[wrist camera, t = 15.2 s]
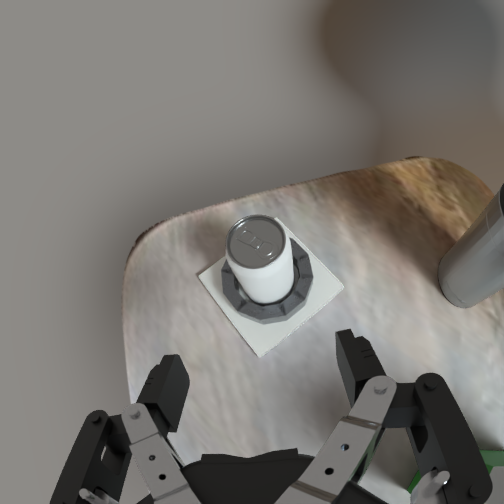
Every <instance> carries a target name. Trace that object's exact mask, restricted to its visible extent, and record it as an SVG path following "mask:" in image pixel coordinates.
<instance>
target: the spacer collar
mask: <svg viewBox="0 0 504 504" xmlns="http://www.w3.org/2000/svg"><path fill="white" fill-rule="evenodd" d="M289 239H290V242H291V249H292V259H293V265H294V266H295V267H296V268H297V269H298V274H299V281H298V284H297V287H296V289H295V292H294V293H293V294H292V295H290V296H289V297H288V298H287V299H285V300H284V301H283V302H282V303H280V304H276V305H270V306H264V307H261V306H258V305H255V304H252V303H250V302H247V301H245V300H244V299H243V298H242V296H241V295H240V293H239V284H238V279H237V278H236V276H235V274H234V273H233V271H232V269H231V268H230V266H229V264H228V261H227V259H226V261H225V263H224V265H223V267H222V269H221V277H222V288H223V294H224V295H225V296H226V297H227V299H228V300H229V301H230V303H231V304H232V305H233V307H234V308H235V309H236V310H237V312H238V313H239V314H240V315H241V316H242V317H244V318H247V319H250V320H252V321H255V322H258V323H260V324H263V325H265V324H271V323H277V322H282V321H287V320H288V319H290V318H291V317H292V316H293V315H294V314H296V313H297V312H298V311H299V310H300V309H302V308H303V307H304V306H305V304H306V302H307V299H308V296H309V293H310V290H311V288H312V285H313V272H312V268H311V263H310V259H309V254H308V253H307V252H306V251H305V250H304V249H303V248H302V247H301V246H300V245H299V244H298V243H297V242H296V241H295V240H294V239H293V238H289Z"/></svg>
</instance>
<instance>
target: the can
mask: <svg viewBox="0 0 504 504" xmlns="http://www.w3.org/2000/svg"><path fill="white" fill-rule="evenodd" d="M226 258H227V261H228V264H229V266H230V268H231V269H232V271H233V273H234V274H235V276H236V278H237V279H238V281H239V282H240V284H241V286H242V287H243V289H244V291H245V292H246V294H247V295H248V296H249V298H250V299H251V300H252V301H254V302H255V303H257V304H259V305H262V306H270V305H276V304H280V303H282V302H283V301H284V300H285V299H287V298H288V297H289V295H290V294H291V292H292V289H293V286H294V272H293V259H292V249H291V242H290V239H289V236H288V234H287V233H286V231H285V230H284V229H283V227H282V226H281V225H280V223H279V222H277V221H276V220H275V219H273V218H271V217H269V216H265V215H251V216H247V217H245V218H242V219H241V220H239V221H238V222H236V223H235V224H234V225H233V226H232V227H231V229H230V230H229V232H228V234H227V237H226Z"/></svg>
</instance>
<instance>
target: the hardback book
mask: <svg viewBox="0 0 504 504" xmlns="http://www.w3.org/2000/svg"><path fill="white" fill-rule="evenodd" d="M480 453H481V455H482V457H483V460H484V462H485V465H486V467H487V470H488V472H489V475H490V477H491V480H492V483H493V490H492V493H491V495H490V497H489V499H488V500H487V501H486V502H485V503H484V504H504V451H493V450H480ZM420 480H421V475H420V472H419V470H418V471H417V473H416V475H415V477H414V479H413V481H412V482H411V484H410V486H409V488H408V489H407V491H408V492H409V493H410V494H411V493H412V491H413V489H414V488H415V486H416V485H417V484H418V483H419V481H420Z"/></svg>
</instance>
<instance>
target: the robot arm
mask: <svg viewBox="0 0 504 504" xmlns="http://www.w3.org/2000/svg"><path fill="white" fill-rule="evenodd" d="M438 278H439V283H440V287H441V289H442V291H443V293H444V295H445V296H446V298H447V299H448V300H449V301H450V302H451V303H452V304H454V305H455V306H457V307H460V308H469V307H472V306H474V305H476V304H478V303H479V302H481V301H483V300H485V299H487V298H488V297H490V296H492V295H493V294H495V293H497V292H498V291H500V290H501V289H503V288H504V184H503V185H502V187H501V188H500V190H499V191H498V192H497V194H496V195H495V196H494V198H493V199H492V200H491V202H490V203H489V204H488V206H487V207H486V208H485V209H484V211H483V212H482V213H481V214H480V216H479V217H478V218H477V219H476V221H475V222H474V223H473V224H472V225H471V226H470V228H469V229H468V230H467V231H466V232H465V233H464V235H463V236H462V237H461V238H460V239H459V240H458V241H457V242H456V243H455V244H454V246H453V247H452V248H451V249H450V250H449V251H448V252H447V253H446V254H445V255H444V257H443V258H442V259H441V262H440V264H439V269H438ZM335 336H336V356H337V363H338V367H339V370H340V373H341V376H342V379H343V382H344V386H345V389H346V392H347V395H348V399H349V402H350V405H351V408H352V409H351V411H350V413H349V414H348V416H347V417H343V418H342V419H341V420H340V421H339V423H338V424H337V426H336V428H335V429H334V431H333V432H332V434H331V435H330V437H329V438H328V440H327V441H326V443H325V444H324V446H323V447H322V448H321V450H320V451H319V453H318V454H317V455H316V457H313V456H310V455H304V454H298V450H297V448H295V449H287V450H279V451H272V452H268V453H265V454H262V455H258V456H255V457H251V458H243V457H237V456H232V455H226V454H202V457H201V460H200V461H196V462H193V463H190V464H188V465H186V466H185V464H184V463H183V461H182V460H181V458H180V457H179V455H178V454H177V452H176V450H175V449H174V447H173V445H172V444H171V442H170V440H169V439H168V437H167V434H168V432H177V428H178V425H179V421H180V418H181V414H182V410H183V407H184V403H185V400H186V396H187V393H188V389H189V385H190V380H189V375H188V373H187V371H186V369H185V367H184V364H183V362H182V360H181V358H180V356H179V355H178V354H174V355H164V356H163V358H162V360H161V362H160V365H156V366H155V367H154V368H153V369H152V370H151V371H150V373H149V375H148V377H147V380H146V382H145V385H144V386H143V388H142V391H141V393H140V395H139V397H138V399H137V402H136V403H134V404H131V405H129V406H127V407H126V408H125V409H124V410H123V412H122V414H120V415H115V416H108V414H107V413H106V412H105V411H103V410H96V411H93V412H92V413H90V414H89V415H88V416H87V418H86V420H85V422H84V424H83V426H82V428H81V430H80V432H79V434H78V436H77V439H76V441H75V443H74V445H73V447H72V450H71V452H70V454H69V456H68V459H67V461H66V463H65V466H64V468H63V470H62V473H61V475H60V478H59V480H58V483H57V485H56V488H55V490H54V493H53V495H52V498H51V501H50V504H119V499H120V496H121V492H122V488H123V485H124V481H125V477H126V474H127V470H128V467H129V463H130V460H131V456H132V455H133V457H134V459H135V461H136V464H137V466H138V468H139V470H140V472H141V475H142V477H143V479H144V481H145V483H146V485H147V487H148V489H149V491H150V494H149V495H148V496H146V497H145V498H144V499H142V500H141V501H139V502H138V503H137V504H388V503H386V502H385V501H383V500H381V499H380V498H378V497H376V496H375V495H373V494H372V493H370V492H368V491H367V490H365V489H364V488H362V487H361V486H359V485H358V484H359V482H360V481H361V479H362V477H363V476H364V474H365V472H366V470H367V468H368V466H369V464H370V461H371V459H372V457H373V455H374V453H375V451H376V449H377V447H378V445H379V443H380V441H381V439H382V437H383V435H384V433H385V431H386V429H387V428H402V427H406V430H407V433H408V436H409V439H410V442H411V445H412V448H413V451H414V455H415V458H416V461H417V465H418V468H419V472H420V475H421V480H420V481H419V483H418V484H417V485H416V486H415V488H414V489H413V491H412V493H411V497H410V498H411V503H410V504H484V503H485V502H486V501H487V500H488V499H489V497H490V495H491V493H492V490H493V483H492V480H491V477H490V475H489V472H488V470H487V467H486V465H485V462H484V460H483V457H482V455H481V453H480V450H479V448H478V446H477V444H476V441H475V439H474V437H473V435H472V433H471V430H470V428H469V426H468V424H467V422H466V420H465V418H464V416H463V414H462V412H461V410H460V408H459V406H458V404H457V402H456V401H455V399H454V397H453V395H452V393H451V391H450V389H449V388H448V386H447V384H446V382H445V380H444V379H443V378H442V377H441V376H440V375H438V374H436V373H426V374H423V375H421V376H420V377H418V379H417V380H416V382H415V383H397V382H395V381H394V380H393V379H392V378H390V377H388V376H387V375H386V374H385V372H384V370H383V368H382V365H381V363H380V361H379V359H378V357H377V356H376V354H375V352H374V350H373V348H372V346H371V344H370V342H369V341H368V340H367V339H365V338H364V337H363V336H361V337H356V338H355V337H354V335H353V333H352V331H351V329H347V330H342V331H338V332H336V333H335ZM104 446H105V447H106V451H105V453H104V456H103V459H102V461H101V455H102V452H103V449H104Z"/></svg>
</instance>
